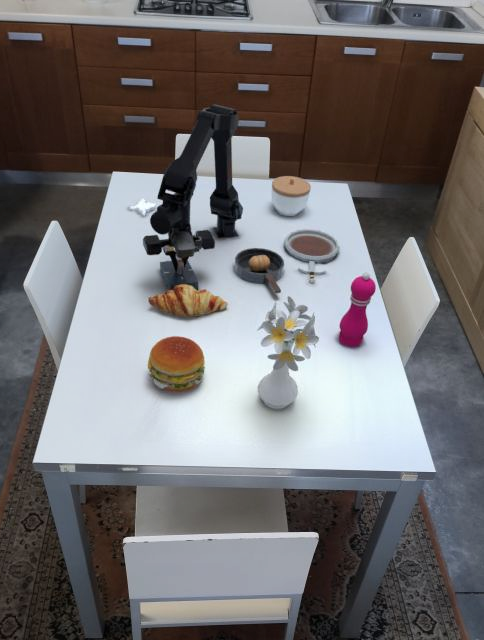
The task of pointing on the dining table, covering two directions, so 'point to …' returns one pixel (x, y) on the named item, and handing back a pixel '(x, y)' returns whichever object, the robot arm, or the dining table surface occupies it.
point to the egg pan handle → (272, 283)
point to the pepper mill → (357, 311)
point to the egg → (259, 263)
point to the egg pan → (259, 276)
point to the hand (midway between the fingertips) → (178, 269)
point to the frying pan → (311, 248)
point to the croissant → (187, 301)
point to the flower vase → (285, 352)
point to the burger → (176, 363)
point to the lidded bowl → (290, 194)
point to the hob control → (173, 278)
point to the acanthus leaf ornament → (143, 207)
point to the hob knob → (179, 266)
